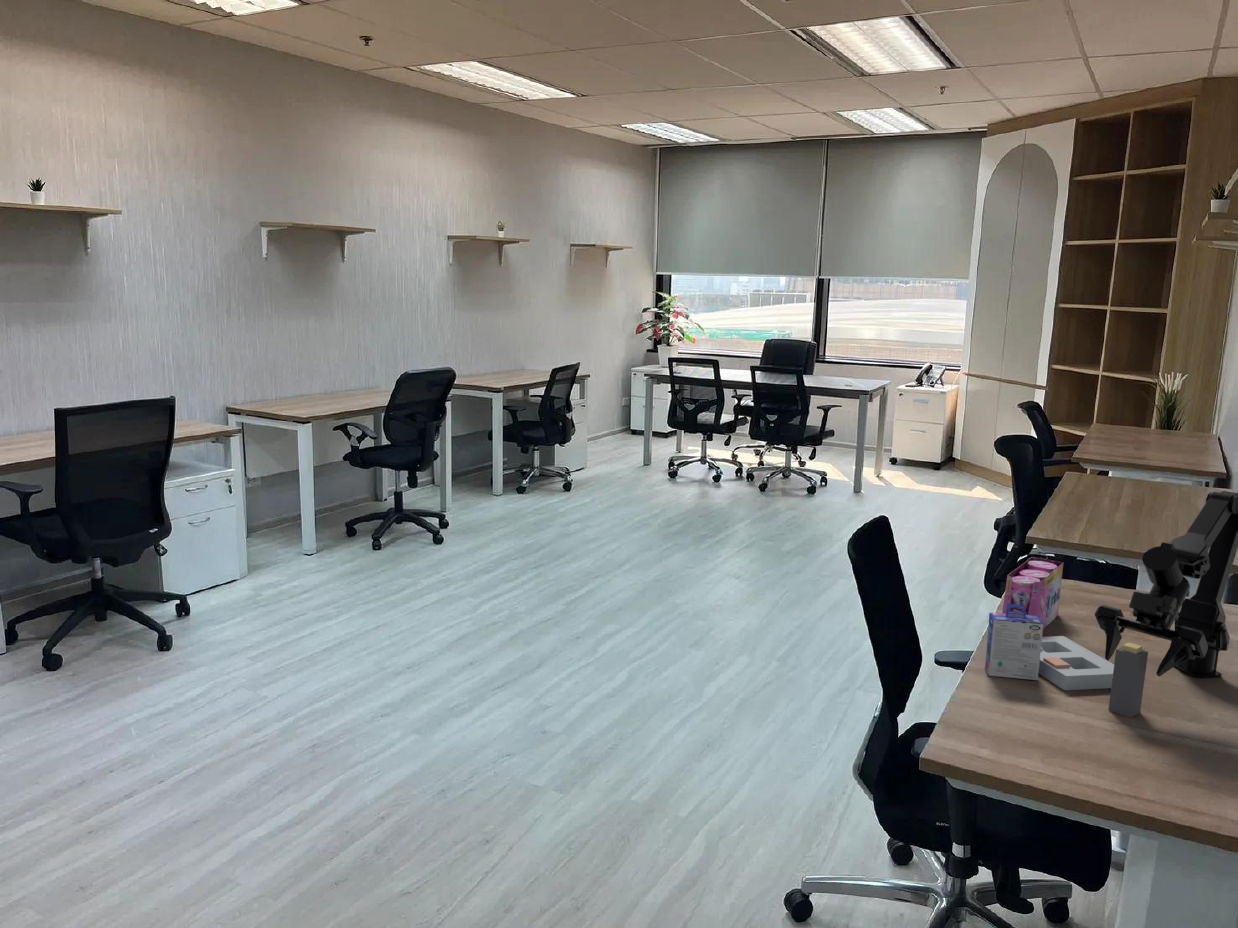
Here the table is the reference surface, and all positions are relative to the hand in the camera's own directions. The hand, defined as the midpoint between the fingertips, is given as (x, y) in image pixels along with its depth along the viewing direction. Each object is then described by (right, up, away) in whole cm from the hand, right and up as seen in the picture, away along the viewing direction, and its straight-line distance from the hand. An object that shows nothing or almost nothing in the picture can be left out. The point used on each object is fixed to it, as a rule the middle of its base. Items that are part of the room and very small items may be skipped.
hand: (1131, 666), depth 173 cm
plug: (-1, -9, +1) cm, 9 cm away
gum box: (+3, 0, +50) cm, 50 cm away
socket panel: (-3, -5, +21) cm, 22 cm away
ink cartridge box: (-15, -5, +18) cm, 24 cm away
